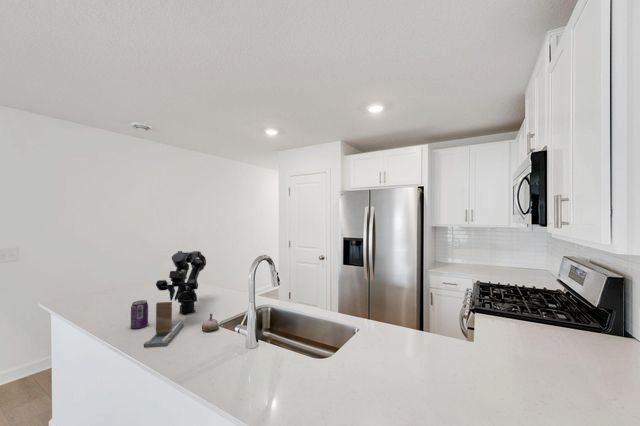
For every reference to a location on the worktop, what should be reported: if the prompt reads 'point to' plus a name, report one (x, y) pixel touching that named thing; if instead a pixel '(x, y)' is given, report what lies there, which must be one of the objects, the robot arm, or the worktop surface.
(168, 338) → the fader track
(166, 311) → the fader handle
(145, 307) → the beverage can
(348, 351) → the worktop surface
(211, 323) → the garlic bulb
